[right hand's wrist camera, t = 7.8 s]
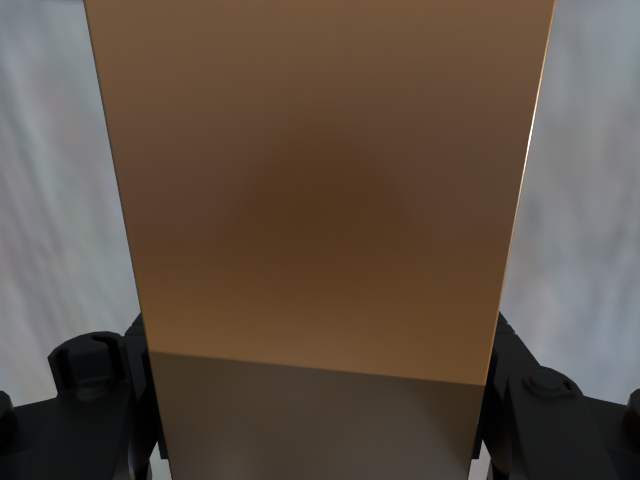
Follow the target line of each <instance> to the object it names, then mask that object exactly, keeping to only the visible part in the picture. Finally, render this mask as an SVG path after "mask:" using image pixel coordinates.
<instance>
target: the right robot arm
mask: <svg viewBox="0 0 640 480" xmlns="http://www.w3.org/2000/svg"><path fill="white" fill-rule="evenodd" d="M47 358H48V361H49V365H50V368H51V371H52V375H53V378H54V382H55V385H56V388H57V392H58V394H57V396H56V398H52V399H49V400H45V401H40V402H36V403H31V404H27V405H22V406H17V407H13V405H12V402H11V399H10V396H9V395H7V394H6V393H5V392H4V391H0V480H152V470H151V464H150V459H149V458H150V456H151V454H152V451H153V449H154V447H155V445H156V442H157V441H158V446H159V451H160V456H161V459H168V456H167V451H166V445H165V440H164V434H163V429H162V424H161V418H160V413H159V407H158V402H157V396H156V391H155V386H154V380H153V375H152V369H151V364H150V359H149V353H148V348H147V342H146V337H145V332H144V326H143V321H142V315H141V313H140V314H139V315H138V317H137V318H136V319H135V321H134V322H133V323H132V326H130V327H129V329H128V330H127V331H126V333H125V336H123V337H122V336H121V335H119V334H118V333H113V332H109V331H102V332H92V333H87V334H83V335H79V336H77V337H75V338H72V339H70V340H68V341H66V342H64V343H63V344H61V345H60V346H58V347H57V348H55V349H54V350H53V351H52V353H51V354H50V355H49V356H48V357H47ZM482 439H483V441H484V443H485V445H486V448H487V450H488V452H489V454H490V457H491V459H490V464H489V469H488V474H487V479H486V480H640V389H637V390H635V391H634V392H633V393H632V394H631V395H630V398H629V401H628V404H627V406H626V405H622V404H617V403H613V402H608V401H603V400H599V399H594V398H590V397H587V396H583V393H582V392H581V390H580V389H579V387H578V386H577V385H576V383H575V382H573V381H572V380H571V379H569V378H568V377H567V376H565V375H564V374H562V373H560V372H558V371H555V370H553V369H551V368H547V367H544V366H540V364H539V363H538V362H537V360H536V359H535V358H534V356H533V355H532V354H531V352H530V351H529V350H528V348H527V347H526V346H525V344H524V343H523V342H522V340H521V339H520V338H519V337H518V335H515V331H514V330H513V329H512V327H511V326H510V325H508V322H507V321H506V319H505V318H504V317H503V315H502V314H501V313H500V311H499V314H498V319H497V325H496V330H495V335H494V341H493V346H492V352H491V357H490V362H489V368H488V373H487V379H486V384H485V390H484V395H483V400H482V406H481V411H480V417H479V422H478V427H477V433H476V438H475V444H474V449H473V454H472V459H479V455H480V450H481V445H482Z"/></svg>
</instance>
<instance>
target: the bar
mask: <svg viewBox="0 0 640 480" xmlns="http://www.w3.org/2000/svg"><path fill="white" fill-rule="evenodd" d="M83 2H84V7H85V13H86V18H87V24H88V29H89V34H90V40H91V45H92V51H93V56H94V61H95V67H96V72H97V78H98V83H99V88H100V94H101V99H102V105H103V110H104V115H105V121H106V126H107V132H108V137H109V142H110V148H111V153H112V159H113V164H114V169H115V175H116V180H117V186H118V191H119V196H120V202H121V207H122V213H123V218H124V224H125V229H126V234H127V240H128V245H129V251H130V256H131V261H132V267H133V272H134V278H135V283H136V288H137V294H138V299H139V305H140V310H141V315H142V321H143V326H144V332H145V337H146V342H147V348H148V353H149V359H150V364H151V369H152V375H153V380H154V386H155V391H156V396H157V402H158V407H159V413H160V418H161V424H162V429H163V434H164V440H165V445H166V451H167V456H168V461H169V467H170V472H171V478H172V480H468V476H469V471H470V465H471V460H472V454H473V449H474V444H475V438H476V433H477V427H478V422H479V417H480V411H481V406H482V400H483V395H484V390H485V384H486V379H487V373H488V368H489V362H490V357H491V352H492V346H493V341H494V335H495V330H496V325H497V319H498V314H499V308H500V303H501V298H502V292H503V287H504V281H505V276H506V271H507V265H508V260H509V254H510V249H511V243H512V238H513V233H514V227H515V222H516V216H517V211H518V206H519V200H520V195H521V189H522V184H523V179H524V173H525V168H526V162H527V157H528V152H529V146H530V141H531V135H532V130H533V124H534V119H535V114H536V108H537V103H538V97H539V92H540V87H541V81H542V76H543V70H544V65H545V60H546V54H547V49H548V43H549V38H550V33H551V27H552V22H553V16H554V11H555V5H556V0H83Z"/></svg>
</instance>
